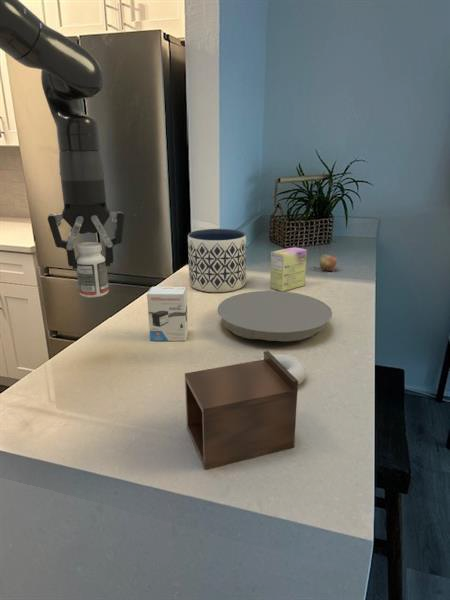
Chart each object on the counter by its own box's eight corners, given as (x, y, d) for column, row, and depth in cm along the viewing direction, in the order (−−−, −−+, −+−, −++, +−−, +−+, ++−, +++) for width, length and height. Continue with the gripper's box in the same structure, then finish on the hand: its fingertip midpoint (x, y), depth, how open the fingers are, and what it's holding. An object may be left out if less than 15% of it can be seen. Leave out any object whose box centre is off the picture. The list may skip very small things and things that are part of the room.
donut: (244, 381, 83) (289, 397, 77) (243, 365, 82) (290, 380, 76) (271, 361, 90) (314, 375, 84) (271, 346, 89) (315, 359, 83)
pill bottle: (102, 287, 90) (98, 240, 86) (113, 294, 85) (109, 245, 82) (75, 292, 86) (69, 243, 83) (85, 300, 82) (79, 249, 79)
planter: (241, 294, 130) (242, 241, 124) (183, 292, 132) (181, 239, 127) (248, 277, 146) (249, 229, 141) (196, 275, 149) (194, 228, 144)
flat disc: (235, 301, 124) (235, 286, 123) (335, 312, 116) (336, 296, 115) (201, 341, 99) (200, 323, 98) (324, 358, 91) (326, 339, 90)
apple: (317, 272, 152) (318, 256, 149) (320, 267, 159) (321, 251, 157) (334, 274, 150) (335, 257, 148) (337, 268, 157) (338, 252, 155)
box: (292, 281, 142) (294, 246, 138) (305, 285, 138) (307, 249, 134) (269, 287, 136) (270, 251, 132) (282, 292, 132) (283, 254, 128)
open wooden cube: (205, 469, 60) (203, 399, 56) (186, 428, 69) (184, 365, 65) (294, 447, 65) (298, 380, 61) (266, 410, 73) (268, 350, 70)
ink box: (149, 341, 99) (146, 293, 95) (153, 332, 104) (150, 286, 100) (186, 341, 99) (184, 293, 95) (188, 332, 104) (187, 286, 100)
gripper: (39, 179, 73) (52, 275, 78) (125, 177, 77) (131, 268, 83) (40, 176, 79) (52, 265, 85) (120, 175, 84) (126, 259, 90)
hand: (91, 266), depth 84 cm, fingers closed on pill bottle, 5 cm apart
